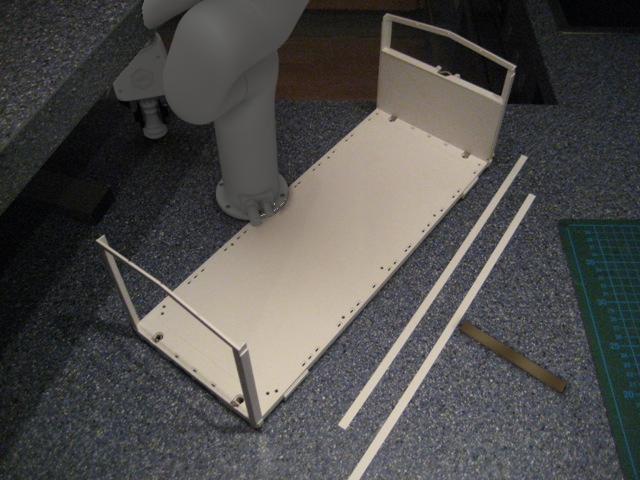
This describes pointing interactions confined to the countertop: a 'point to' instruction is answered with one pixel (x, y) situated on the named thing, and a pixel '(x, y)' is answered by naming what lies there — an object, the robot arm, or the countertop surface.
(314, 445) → the countertop surface
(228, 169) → the robot arm
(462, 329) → the stick
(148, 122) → the rook chess piece
